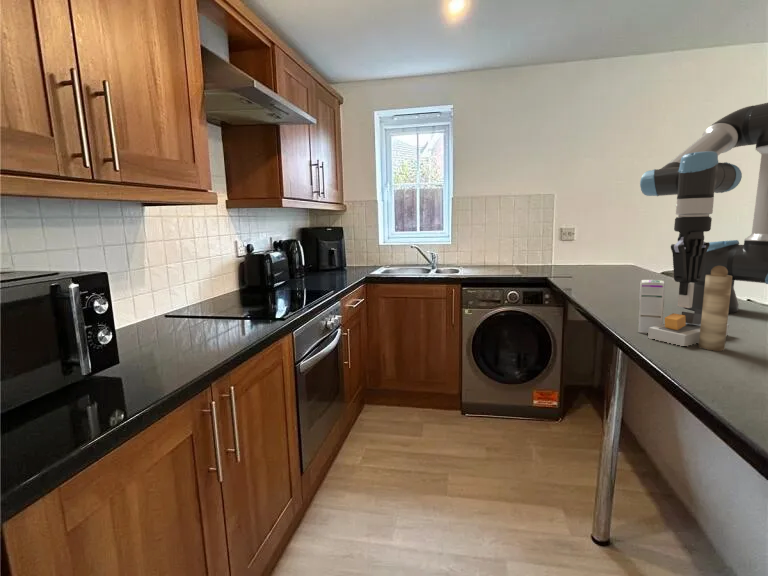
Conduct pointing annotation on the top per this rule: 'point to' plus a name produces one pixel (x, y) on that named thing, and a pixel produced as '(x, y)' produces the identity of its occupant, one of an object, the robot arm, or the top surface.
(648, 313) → the syrup box
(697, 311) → the paddle
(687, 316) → the paddle middle
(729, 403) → the top surface
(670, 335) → the breaker strip
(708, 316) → the pepper mill
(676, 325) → the paddle
